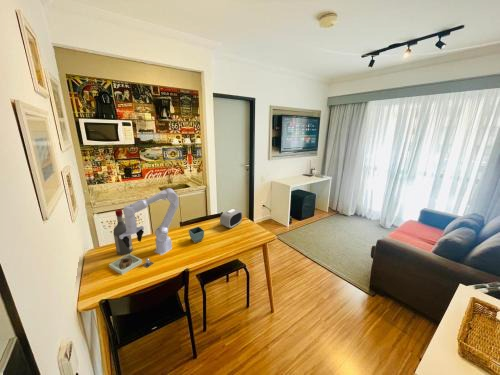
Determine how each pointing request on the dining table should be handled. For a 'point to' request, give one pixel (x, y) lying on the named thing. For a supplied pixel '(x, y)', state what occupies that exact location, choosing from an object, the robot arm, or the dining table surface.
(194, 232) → the flower pot
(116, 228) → the liquor
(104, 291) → the dining table surface
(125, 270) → the tray
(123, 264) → the ring
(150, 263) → the grey piece
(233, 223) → the alarm clock
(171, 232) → the dining table surface
